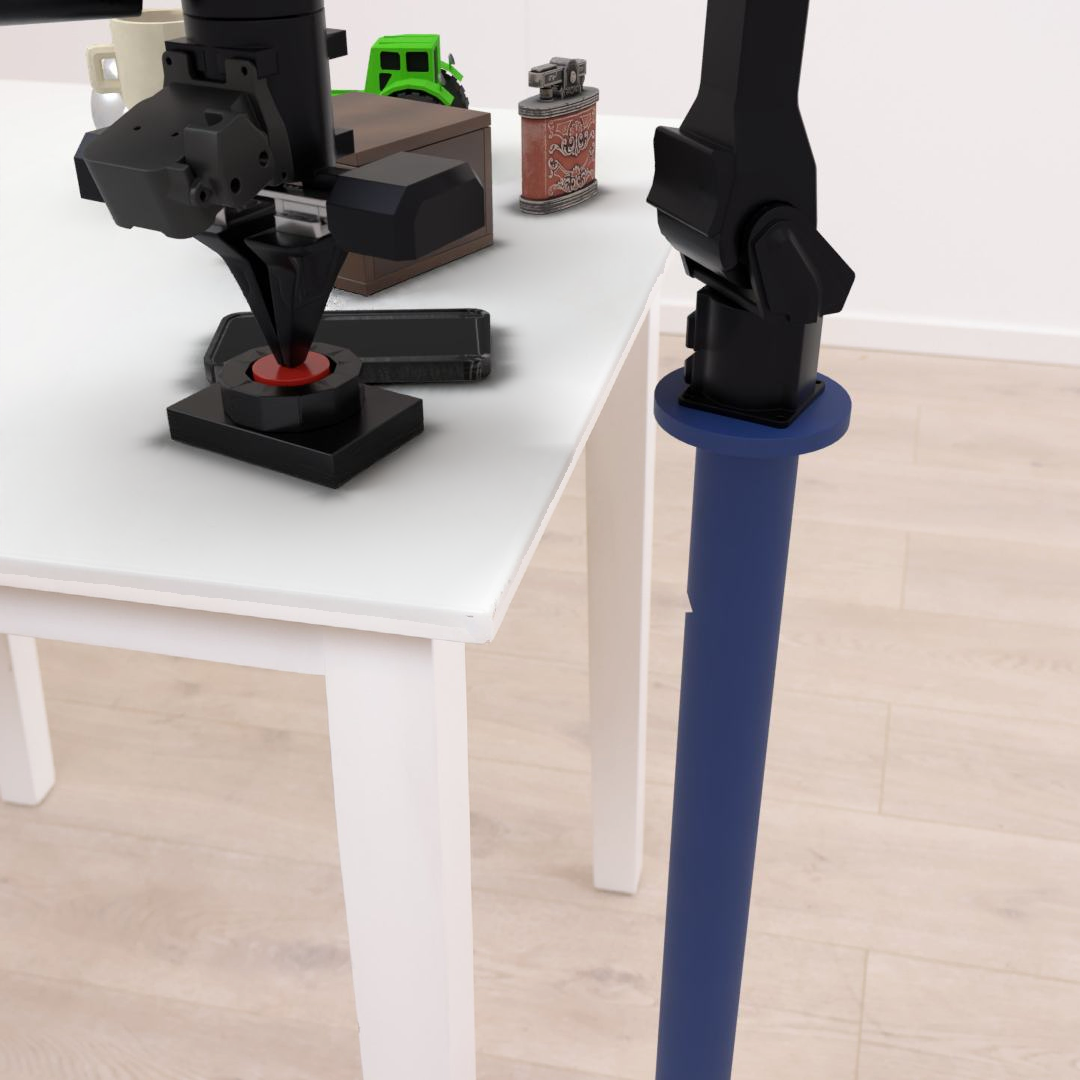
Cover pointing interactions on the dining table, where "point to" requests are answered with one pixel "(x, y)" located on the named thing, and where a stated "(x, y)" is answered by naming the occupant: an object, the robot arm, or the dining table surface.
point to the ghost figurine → (107, 100)
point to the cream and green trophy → (135, 54)
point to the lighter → (558, 137)
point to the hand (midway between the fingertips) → (292, 364)
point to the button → (291, 371)
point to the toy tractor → (412, 71)
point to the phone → (381, 342)
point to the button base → (298, 419)
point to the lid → (398, 124)
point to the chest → (382, 273)
